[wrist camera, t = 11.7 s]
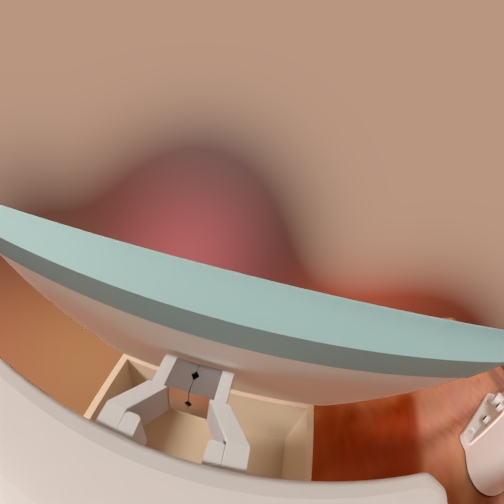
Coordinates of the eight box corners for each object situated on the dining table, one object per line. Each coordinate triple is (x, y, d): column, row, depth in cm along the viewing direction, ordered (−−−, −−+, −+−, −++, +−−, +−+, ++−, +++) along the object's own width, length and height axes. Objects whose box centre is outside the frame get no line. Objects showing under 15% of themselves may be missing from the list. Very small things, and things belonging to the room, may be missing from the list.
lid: (116, 350, 22) (120, 340, 22) (321, 406, 21) (323, 395, 21) (-31, 221, 6) (-16, 199, 6) (507, 362, 5) (505, 330, 5)
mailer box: (134, 394, 26) (124, 352, 22) (288, 437, 25) (313, 403, 21) (80, 497, 12) (47, 478, 9) (272, 555, 11) (303, 558, 8)
